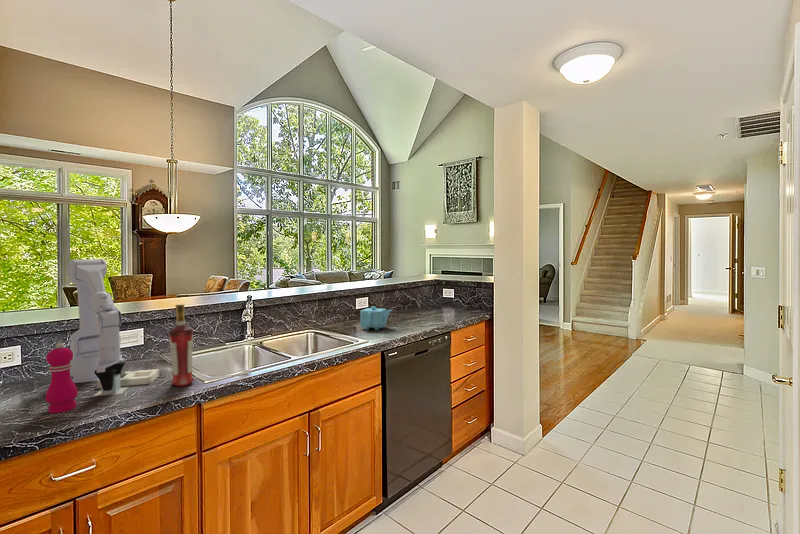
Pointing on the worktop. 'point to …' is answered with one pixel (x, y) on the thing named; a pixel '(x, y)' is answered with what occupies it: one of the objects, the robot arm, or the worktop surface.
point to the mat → (112, 393)
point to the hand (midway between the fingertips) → (111, 387)
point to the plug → (115, 387)
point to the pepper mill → (61, 381)
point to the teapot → (374, 318)
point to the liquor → (181, 350)
